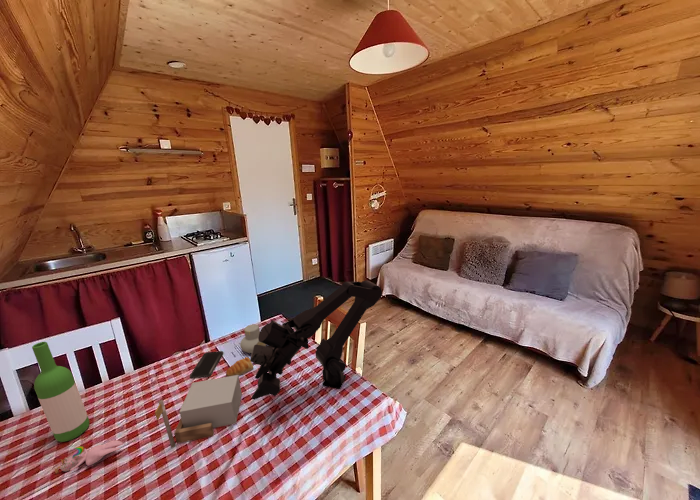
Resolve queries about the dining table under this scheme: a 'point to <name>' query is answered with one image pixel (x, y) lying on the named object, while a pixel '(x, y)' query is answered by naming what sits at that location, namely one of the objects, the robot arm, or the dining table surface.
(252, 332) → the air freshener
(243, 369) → the pastry
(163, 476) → the dining table surface
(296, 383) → the dining table surface
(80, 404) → the wine bottle
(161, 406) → the walnut pocket
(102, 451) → the rabbit figure
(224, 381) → the beige box
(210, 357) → the phone
